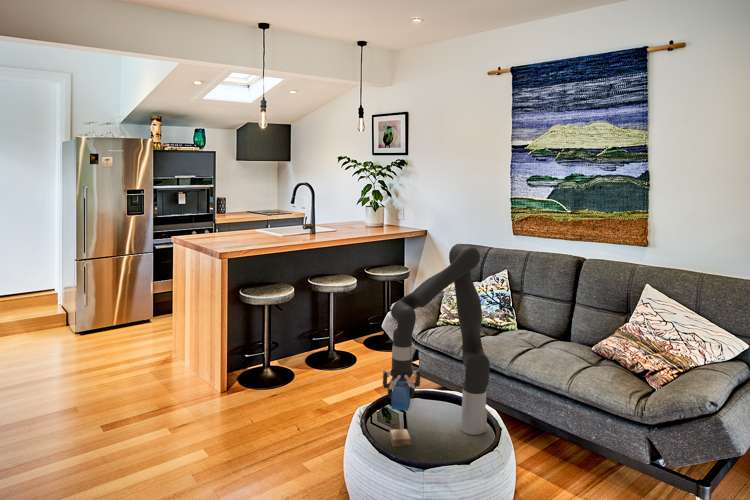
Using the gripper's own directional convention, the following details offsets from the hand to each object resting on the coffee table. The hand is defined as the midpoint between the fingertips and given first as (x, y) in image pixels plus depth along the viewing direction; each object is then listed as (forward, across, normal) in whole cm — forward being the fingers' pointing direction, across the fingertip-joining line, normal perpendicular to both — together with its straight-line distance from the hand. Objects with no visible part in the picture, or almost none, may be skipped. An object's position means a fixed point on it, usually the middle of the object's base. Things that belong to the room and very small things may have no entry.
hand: (400, 397), depth 205 cm
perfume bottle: (+4, 0, 0) cm, 4 cm away
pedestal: (+18, 0, 0) cm, 18 cm away
